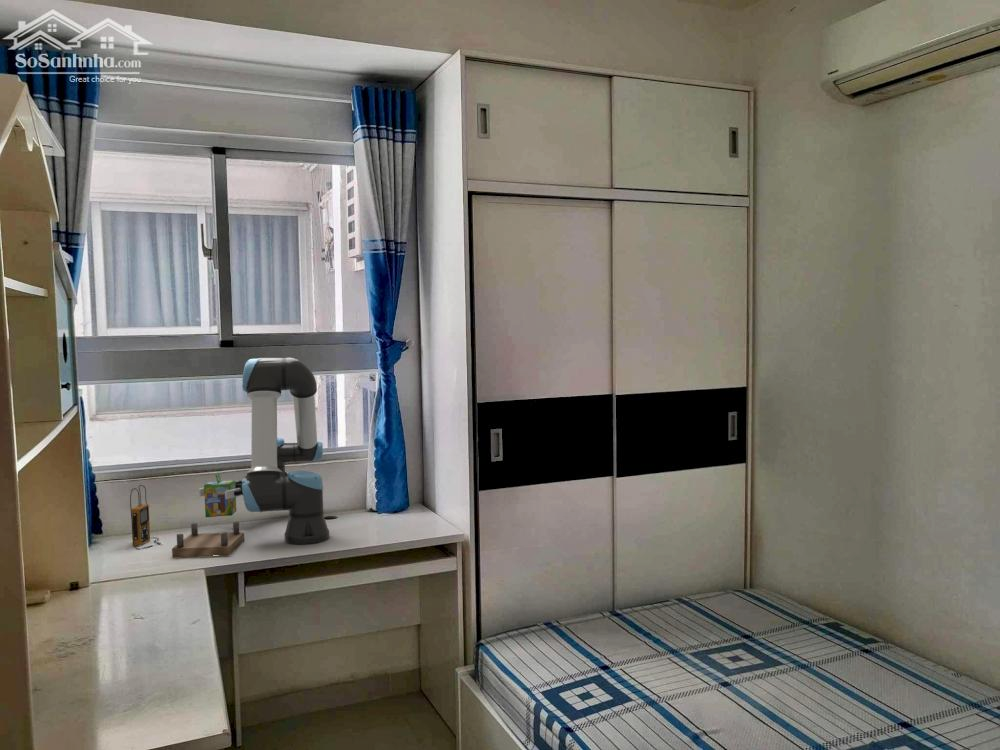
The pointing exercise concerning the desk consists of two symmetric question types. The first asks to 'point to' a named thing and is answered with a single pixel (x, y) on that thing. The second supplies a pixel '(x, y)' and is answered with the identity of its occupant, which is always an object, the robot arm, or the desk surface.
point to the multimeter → (140, 522)
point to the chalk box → (219, 498)
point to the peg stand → (207, 543)
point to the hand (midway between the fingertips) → (212, 493)
